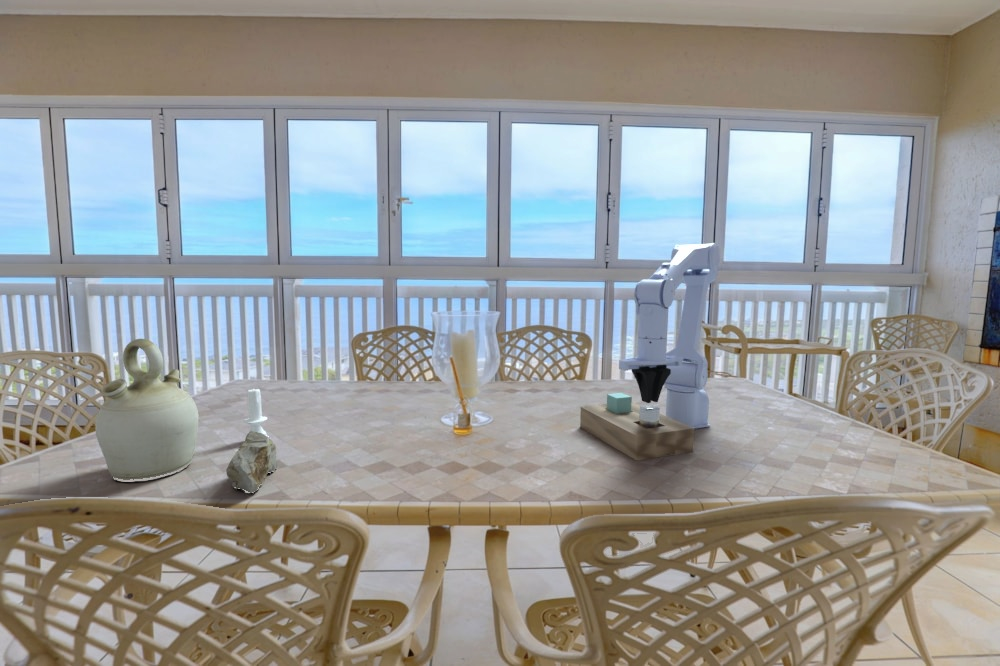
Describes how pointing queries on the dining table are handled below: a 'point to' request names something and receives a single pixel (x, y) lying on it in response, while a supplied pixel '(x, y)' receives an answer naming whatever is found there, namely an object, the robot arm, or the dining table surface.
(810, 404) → the dining table surface
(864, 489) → the dining table surface
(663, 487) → the dining table surface
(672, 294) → the robot arm
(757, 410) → the dining table surface
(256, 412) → the candle
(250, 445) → the rock
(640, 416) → the peg round
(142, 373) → the jug
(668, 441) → the socket block
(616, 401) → the peg square
